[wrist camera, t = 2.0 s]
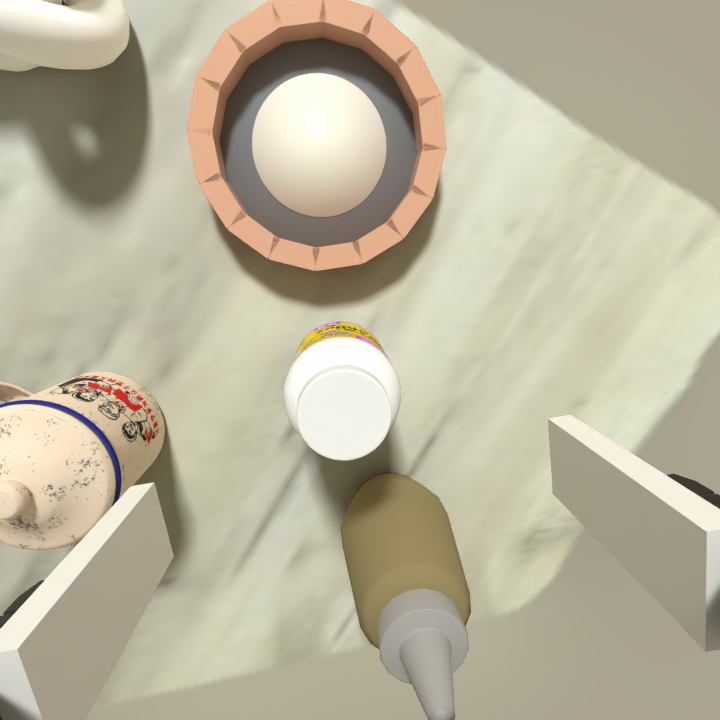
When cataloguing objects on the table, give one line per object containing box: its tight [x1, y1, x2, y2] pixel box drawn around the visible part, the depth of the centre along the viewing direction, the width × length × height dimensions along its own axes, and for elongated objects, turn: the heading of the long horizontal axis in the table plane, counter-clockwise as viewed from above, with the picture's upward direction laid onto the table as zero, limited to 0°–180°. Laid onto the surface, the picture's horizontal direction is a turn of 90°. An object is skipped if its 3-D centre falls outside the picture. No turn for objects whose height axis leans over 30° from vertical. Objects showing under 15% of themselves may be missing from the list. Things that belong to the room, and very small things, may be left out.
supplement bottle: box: [283, 321, 401, 461], centre depth 29 cm, size 7×7×13 cm
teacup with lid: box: [0, 372, 165, 550], centre depth 29 cm, size 12×9×12 cm
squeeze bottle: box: [341, 473, 471, 720], centre depth 29 cm, size 8×8×18 cm
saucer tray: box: [187, 0, 446, 271], centre depth 30 cm, size 16×16×3 cm
